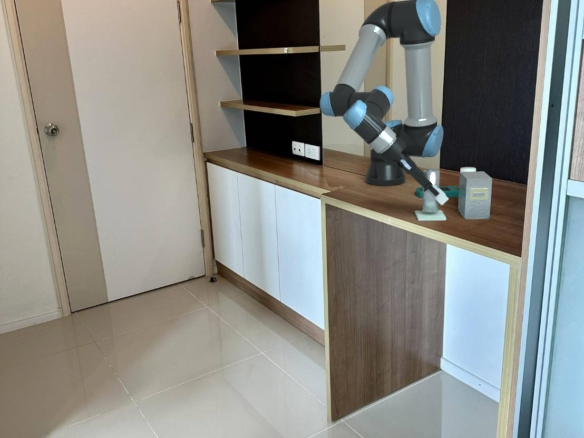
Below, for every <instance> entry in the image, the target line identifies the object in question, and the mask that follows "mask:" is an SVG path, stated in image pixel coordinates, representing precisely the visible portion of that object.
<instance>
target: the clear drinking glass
mask: <svg viewBox="0 0 584 438" xmlns="http://www.w3.org/2000/svg"><path fill="white" fill-rule="evenodd" d="M422 172H423V175H424V176H425V177H426V178H427V179H428V180H429V181H430V182H432V184H434V185H435V186H436V187H437V188H438V189H439V187H440V175H441V174H440V172H441V171H440V169H438V168H437V169H436V168H428V169H423V170H422ZM423 190H424V188H423ZM421 206H422V207H421V210H422V211H425V212H437V211H438V210H439V202H438V201H437V200H436V199H435V198H434V197H433V196H432V195H431V194H430V193H429V192H428V191H427V190H426V191H425V192H424V191H423V198H422V205H421Z"/></svg>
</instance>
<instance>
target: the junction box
mask: <svg viewBox="0 0 584 438" xmlns="http://www.w3.org/2000/svg"><path fill="white" fill-rule="evenodd" d="M458 183H459V185H458V188H459V197H458V204H457V205H458V206H457V211H458V212H459V213H460V215H461V216H462V217H463V218H464V220H490V216H491V214H490V213H491V202H492V201H491V199H492V185H493V178H492V177H491V176H490V175H489V174H488V173H486V172H485V171H481V170H480V171H476V172H459V182H458Z"/></svg>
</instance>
